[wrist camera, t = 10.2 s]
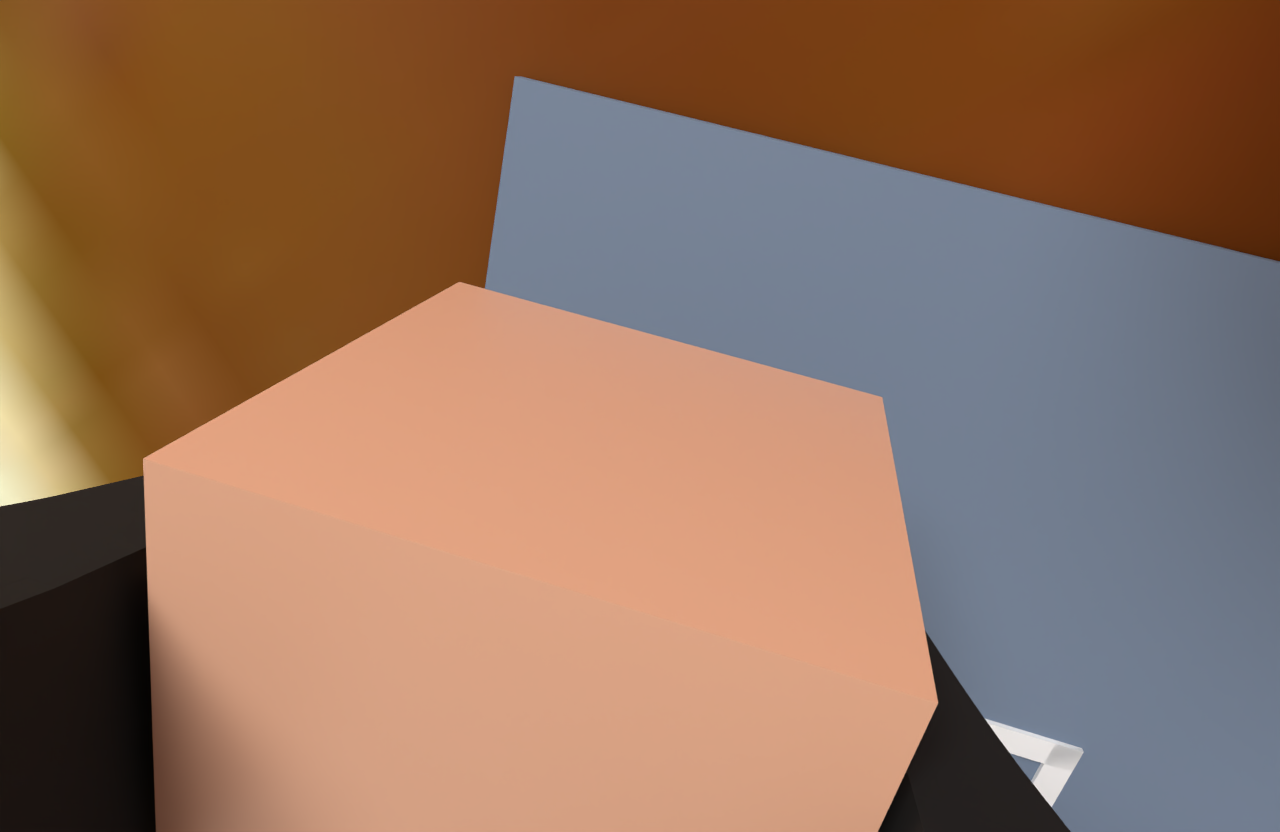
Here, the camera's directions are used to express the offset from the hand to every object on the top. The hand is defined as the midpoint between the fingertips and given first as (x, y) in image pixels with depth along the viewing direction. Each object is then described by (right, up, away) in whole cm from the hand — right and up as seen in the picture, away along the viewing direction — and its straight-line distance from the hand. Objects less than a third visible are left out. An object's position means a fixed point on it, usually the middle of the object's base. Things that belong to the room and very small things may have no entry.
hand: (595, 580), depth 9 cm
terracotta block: (0, +1, +1) cm, 1 cm away
